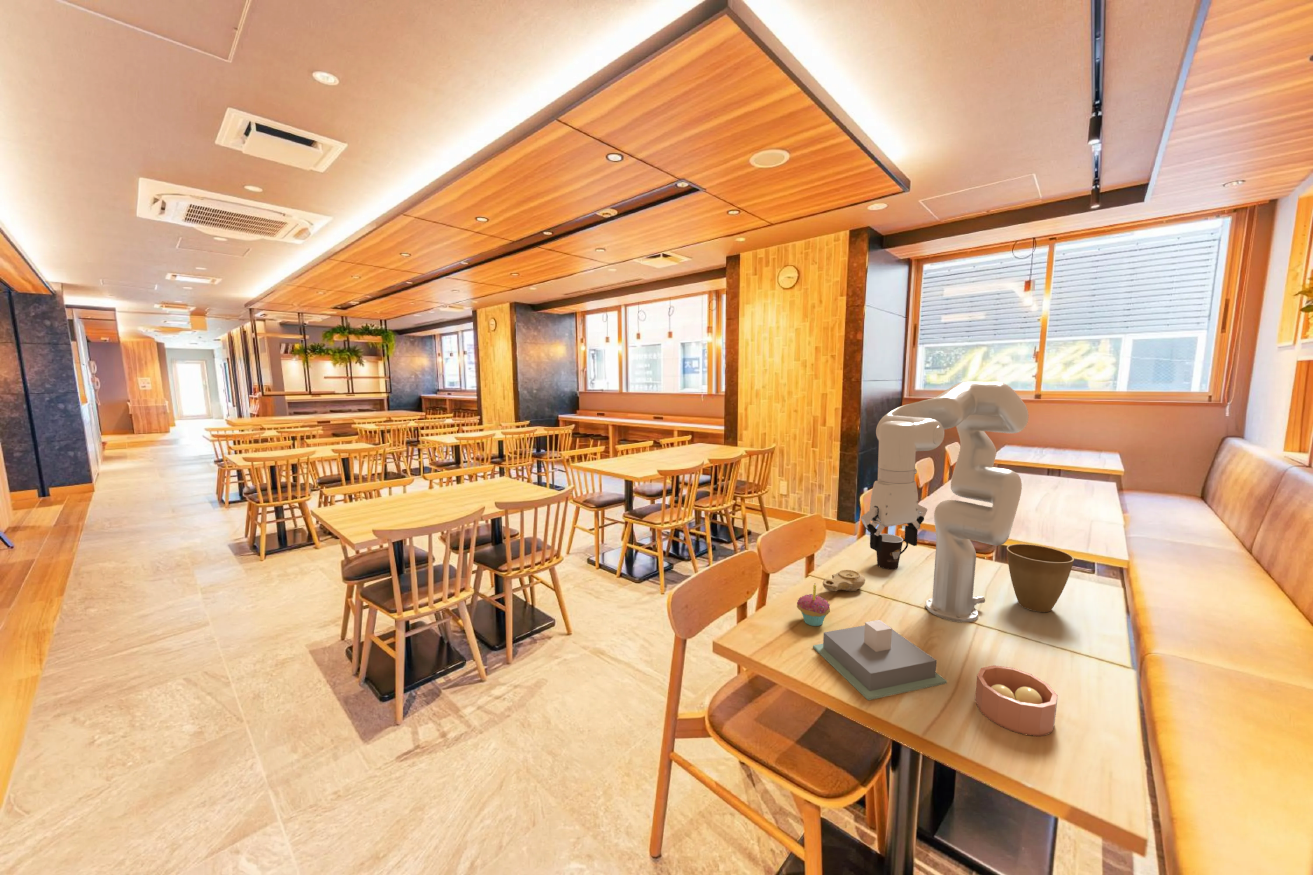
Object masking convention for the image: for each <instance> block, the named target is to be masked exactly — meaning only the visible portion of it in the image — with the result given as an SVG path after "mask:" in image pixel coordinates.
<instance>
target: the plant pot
mask: <svg viewBox="0 0 1313 875" xmlns="http://www.w3.org/2000/svg"><path fill="white" fill-rule="evenodd" d="M1006 554H1007V564H1008V571H1009V575H1010V580H1011V584H1012V588H1013V590H1014V594H1015V597H1016V600H1017V603H1018V604H1019V605H1020V606H1021V607H1022V608H1024V609H1027V610H1030V611H1033V612H1037V613H1038V612H1039V613H1049V612H1051V611H1052V610H1053V609H1054V606H1056V604H1057V602H1058V600H1059V598H1060V597H1061V595H1062V593H1063V592H1064V589H1065V587H1066V585H1067V582H1068V580H1069V577H1070V575H1071V572H1072V569H1073V564H1074V561H1075V558H1074V556H1072V555H1071V554H1069V553H1067V552H1065V551H1062V550H1059V549H1056V548H1052V547H1049V546H1045V545H1044V546H1043V545H1036V544H1029V543H1028V544H1027V543H1013V544H1009V545H1008V546H1006Z"/></svg>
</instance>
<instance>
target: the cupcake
mask: <svg viewBox="0 0 1313 875" xmlns="http://www.w3.org/2000/svg"><path fill="white" fill-rule="evenodd" d="M816 591H817V585H816V584H814V585H813V588H812V593H809V594H805V595H802V596H801V597H799V598H798V599H797V602H796V609H798V610H799V611H800V612H801V615H802V617H803V618H802V619H803V622H804V623H805V624H806V625H809V626H813V627H819V626H822V625H823V624H824V621H825V618H826V617H827V616H828V615H829V613H831V606H830V605H831V604H830V602H829V601H828V600H827V599H825V598H824V597H822V596H820V595H817V593H816Z"/></svg>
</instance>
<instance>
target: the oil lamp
mask: <svg viewBox="0 0 1313 875" xmlns="http://www.w3.org/2000/svg"><path fill="white" fill-rule="evenodd" d="M865 582H866V579H865V576H863V574H862V573H860V572H859V571H856V570H852V569H842V570H840V571H838V572H836V573H835V574H832V575H831V578H830V579H829V578H823V581H822V586H823V588H824V589H825V590H827V591H831V592H837V591H839V590H841V591H842V590H843V591H847V592H856V591H857V590H858V589H861V588H862V587H863V586H864V585H865Z"/></svg>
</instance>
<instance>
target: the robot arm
mask: <svg viewBox="0 0 1313 875" xmlns="http://www.w3.org/2000/svg"><path fill="white" fill-rule="evenodd" d="M1028 423H1029V410H1028V407H1027V405H1026V403H1025V402H1024V401H1023V400H1022V398H1021V397H1020V396H1019V394H1018V393H1017V392H1016V391H1015V390H1014V389H1013V388H1012V387H1011V386H1010V385H1008V384H1006V383H1004V382H999V381H964V382H963V381H962V382H958V383H956V384H954V385H952V386H951V387H949V388H948V389H946V390H945V391H943V392H942V393H940V394H939V395H937V396H936V397H932V398H929V399H924V400H920V401H916V402H912V403H908V404H904V405H901V406H898V407H896V408H894V409H892V410H891V411H889V412H887V413H886V414H884V416H882V418H881V419H880V420H879V421H878V423H877V425H876V427H875V428H876V430H875V434H876V438H877V441H878V455H877V456H878V457H877V458H878V461H877V480H875V481H874V482H873V485H872V486H873V487H872V490H871V496H870V500H869V501H870V502H869V510H868V511H867V512H866V513H864V514H862V515H861V516H860V520H861V522H862V525H863V527H864V529H866V530H867V532H868V533H870V534H869V547H870V549H872V550H874V551H875V552H876V551H877V552H881V551H882V535H880V534H882V532H883V531H884V529H885V527H895V526H901V525H905V527H904V540H905V541H904V542H905V543H908V545H911V546H913V547H917V545H918V530H919V529H921V524H922V523H923V522H924V520H925V516H926V514H927V513H928V509H927V507H925V506H922V505H920V504H919V494H918V485H917V481H916V480H915V476H916V474H917V472H918V470H917V468H916V457H917V456H916V455H917V454H916V452H924V451H925V452H927V451H929V452H930V451H933V450H935V449H936V448H938V447H940V445H941V444H942V443H943V441H944V440H945V439H944V438H945V430H948V429H952V428H955V427H956V430H957V431H956V432H957V434H958V437H959V442H960V447H959V451H958V455H957V456H958V457H957V460H956V462H955V466H954V469H953V472H952V476H951V480H950V490H951V492H952V493H953V494H954V495H956V496H957V497H961V498H964V499H968V500H974V501H978V502H979V501H980V502H983V503H984V502H985V503H989V504H992V507H991V506H986V505H982V504H976V503H974V502H973V503H972V502H967V501H962V500H956V499H947V500H943V501H941V502H939V503H938V504H937V505H936V506H935V509H934V512H933V519H934V520H933V521H934V526H935V527H934V528H935V540H936V541H935V558H934V569H933V570H934V571H933V573H934V574H933V585H932V597H930V598H928V599H926V601H925V608H926V609H927V611H929V612H930V613H931V614H933V615H935V616H937V617H939V618H941V619H944V620H946V621H952V622H957V623H972V622H974V621H977V619H978V618H979V611H978V610H977V609H976V607H975V606H977V604H983V603H985V602H986V598H985V597H984V596H982V595H977V596H974V589H975V588H974V586H975V574H976V563H977V553H976V549H975V547H974V544H973V543H972V541H974V542H979V543H983V544H987V545H992V546H1002V545H1004V544H1005V543H1006V542H1007V541H1008V540H1009V538H1010V534H1011V531H1012V528H1013V525H1014V521H1015V517H1016V514H1017V510H1018V507H1019V504H1020V503H1019V502H1020V499H1021V496H1022V490H1023V488H1022V486H1023V484H1022V479H1021V476H1020V475H1019V474H1018V472H1015V471H1014V470H1012V469H1008V468H1002V467H994V464H995V461H996V456H997V448H996V446H995V444H994V442H993V441H992V439H991V438H990V437H989V436H988V434H987V433H986V432H989V433H990V432H992V433H1002V434H1003V433H1004V434H1017V433H1020V432H1022V431H1023V430H1024V429H1025V428H1026V426H1027V425H1028ZM877 552H876V553H877Z"/></svg>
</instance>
